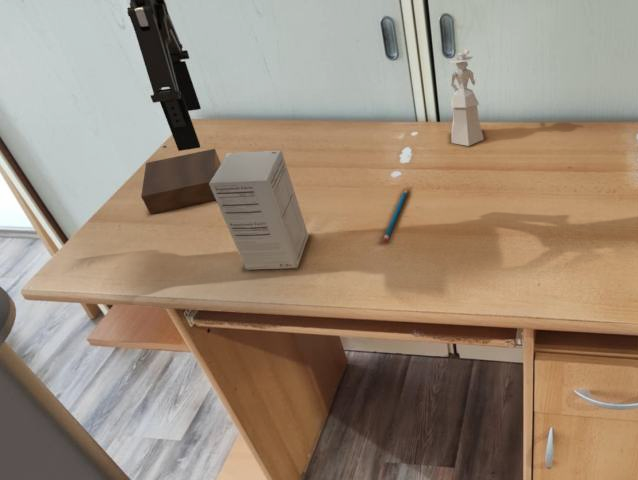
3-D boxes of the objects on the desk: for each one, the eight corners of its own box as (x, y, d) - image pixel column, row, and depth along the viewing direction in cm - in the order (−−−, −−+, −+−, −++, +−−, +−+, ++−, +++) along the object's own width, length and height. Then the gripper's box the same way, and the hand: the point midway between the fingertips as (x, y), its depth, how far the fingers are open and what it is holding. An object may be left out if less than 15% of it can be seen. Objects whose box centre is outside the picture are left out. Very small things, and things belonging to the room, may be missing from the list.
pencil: (382, 243, 102) (381, 239, 101) (405, 190, 113) (404, 187, 113) (387, 243, 102) (386, 240, 101) (409, 190, 113) (408, 187, 113)
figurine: (479, 127, 129) (474, 40, 116) (486, 144, 124) (482, 54, 111) (448, 131, 129) (440, 45, 116) (453, 148, 123) (445, 59, 110)
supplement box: (260, 237, 106) (226, 151, 93) (309, 235, 105) (282, 148, 93) (244, 271, 99) (206, 182, 87) (297, 269, 98) (266, 179, 86)
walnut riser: (150, 214, 114) (140, 196, 111) (154, 180, 123) (145, 162, 121) (223, 198, 116) (215, 180, 113) (221, 165, 126) (214, 148, 123)
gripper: (153, -36, 59) (219, 162, 73) (165, -74, 76) (216, 92, 91) (72, -29, 57) (156, 172, 72) (103, -69, 75) (166, 99, 89)
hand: (190, 128), depth 81 cm, fingers open, 13 cm apart
